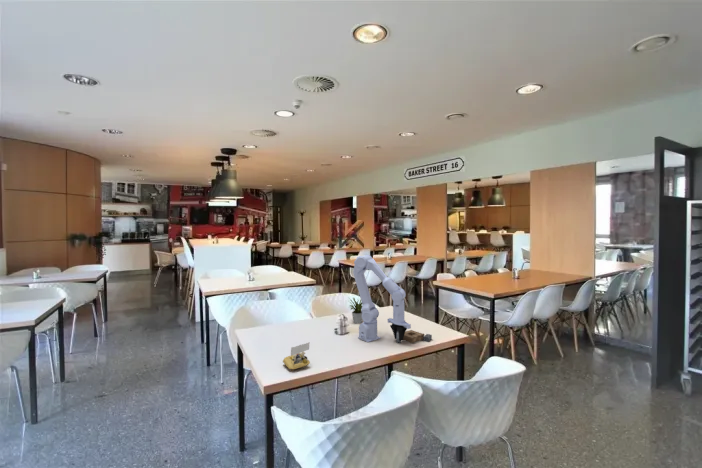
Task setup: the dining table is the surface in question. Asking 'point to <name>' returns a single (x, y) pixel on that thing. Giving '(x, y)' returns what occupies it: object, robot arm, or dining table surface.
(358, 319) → the house plant
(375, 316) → the robot arm
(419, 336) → the socket block
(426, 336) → the square bar
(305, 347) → the yellow card holder
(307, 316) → the dining table surface
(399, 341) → the round bit
